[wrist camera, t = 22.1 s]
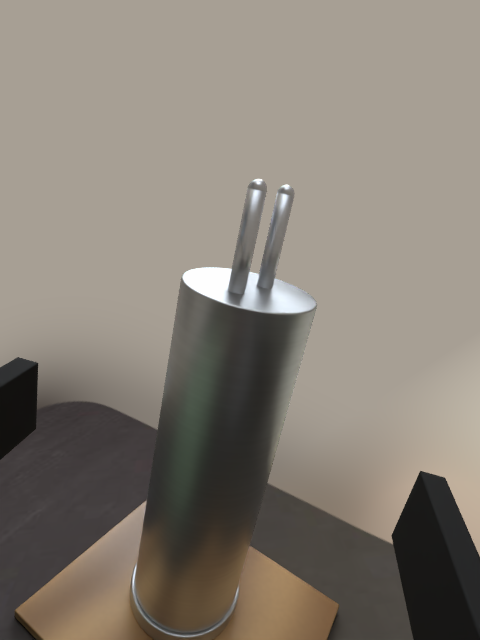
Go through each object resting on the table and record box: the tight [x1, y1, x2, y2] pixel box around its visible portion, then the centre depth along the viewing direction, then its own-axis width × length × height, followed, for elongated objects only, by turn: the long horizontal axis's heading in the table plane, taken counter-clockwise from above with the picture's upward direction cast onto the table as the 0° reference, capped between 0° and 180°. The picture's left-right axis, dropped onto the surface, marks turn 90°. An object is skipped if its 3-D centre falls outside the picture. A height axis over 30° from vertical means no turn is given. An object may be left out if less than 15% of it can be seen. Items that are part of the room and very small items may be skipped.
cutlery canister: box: [130, 179, 317, 640], centre depth 22 cm, size 7×7×26 cm
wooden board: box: [15, 500, 339, 640], centre depth 26 cm, size 16×13×1 cm
